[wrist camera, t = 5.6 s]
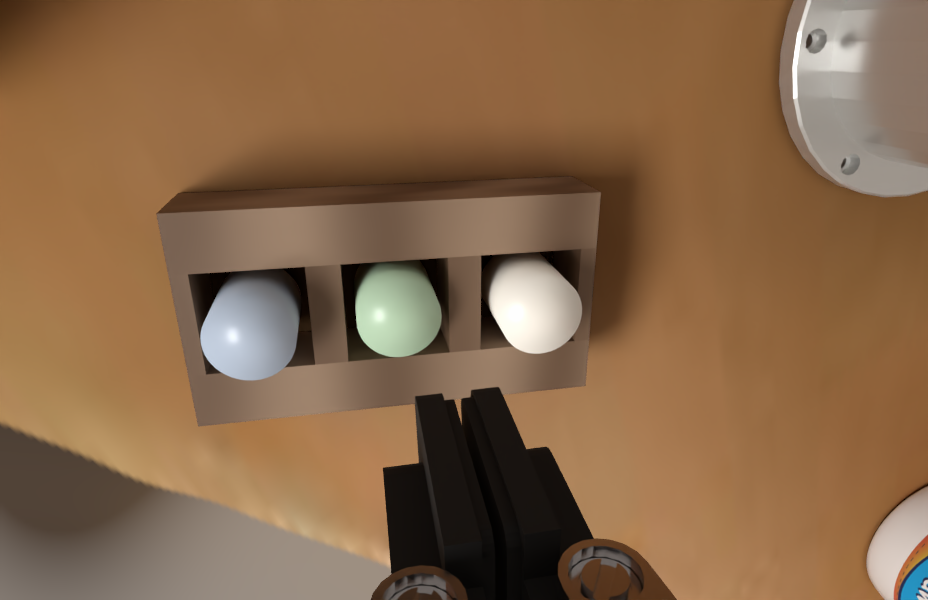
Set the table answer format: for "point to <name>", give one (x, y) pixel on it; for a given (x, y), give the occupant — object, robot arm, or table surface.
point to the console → (379, 240)
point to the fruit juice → (902, 551)
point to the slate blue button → (253, 324)
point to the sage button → (396, 307)
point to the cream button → (530, 301)
